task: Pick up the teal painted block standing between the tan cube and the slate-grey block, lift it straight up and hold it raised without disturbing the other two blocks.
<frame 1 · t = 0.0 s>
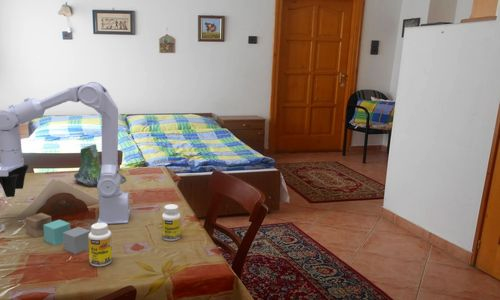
hand: (14, 192, 130), 10 cm above the table, tool pointing down, fingers open, 7 cm apart
teal block: (58, 240, 121), on the table
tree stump: (99, 181, 177), on the table
supplement bottle: (101, 262, 110), on the table
supplement bottle 2: (171, 238, 125), on the table
tan cube: (39, 232, 126), on the table
slate block: (77, 248, 117), on the table
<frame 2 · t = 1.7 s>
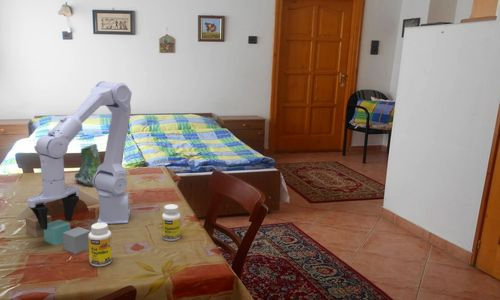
hand: (56, 224, 120), 5 cm above the table, tool pointing down, fingers open, 7 cm apart
nothing on the table moved.
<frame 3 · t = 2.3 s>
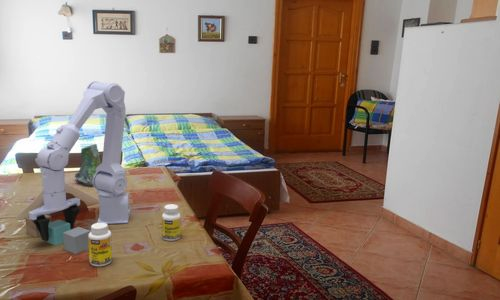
hand: (57, 235, 121), 1 cm above the table, tool pointing down, fingers open, 7 cm apart
nothing on the table moved.
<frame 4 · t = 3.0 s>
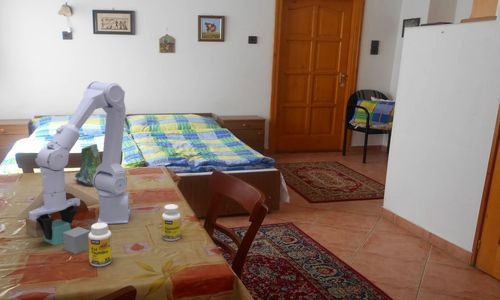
hand: (57, 235, 121), 1 cm above the table, tool pointing down, fingers closed on teal block, 5 cm apart
teal block: (57, 240, 121), on the table, touching gripper
everything else where it was.
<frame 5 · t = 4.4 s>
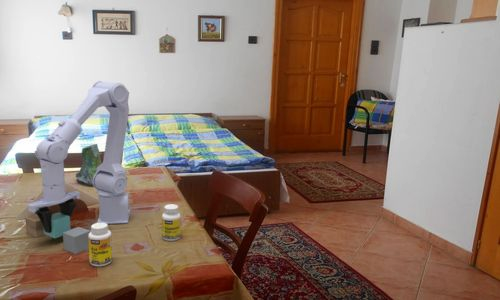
hand: (57, 228, 121), 4 cm above the table, tool pointing down, fingers closed on teal block, 5 cm apart
teal block: (57, 233, 121), point 2 cm above the table, touching gripper
everything else where it was.
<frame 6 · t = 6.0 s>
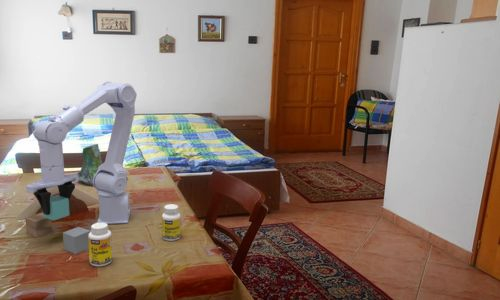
hand: (55, 211, 119), 9 cm above the table, tool pointing down, fingers closed on teal block, 5 cm apart
teal block: (56, 215, 120), point 7 cm above the table, touching gripper
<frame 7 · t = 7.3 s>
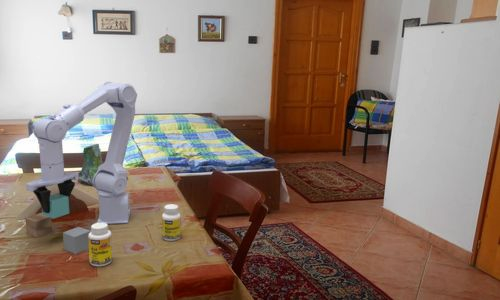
hand: (55, 209, 119), 9 cm above the table, tool pointing down, fingers closed on teal block, 5 cm apart
teal block: (56, 214, 120), point 8 cm above the table, touching gripper
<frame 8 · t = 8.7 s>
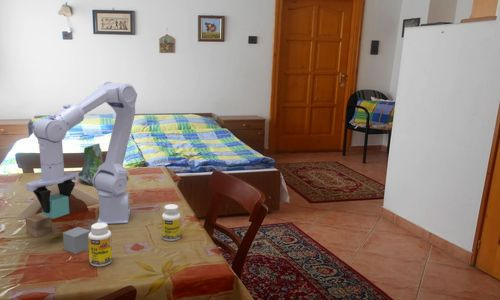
hand: (55, 209, 119), 9 cm above the table, tool pointing down, fingers closed on teal block, 5 cm apart
teal block: (56, 214, 120), point 8 cm above the table, touching gripper
at the end: teal block point 8.0 cm above the table; tan cube moved 0.1 cm from its start; slate block moved 0.1 cm from its start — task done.
